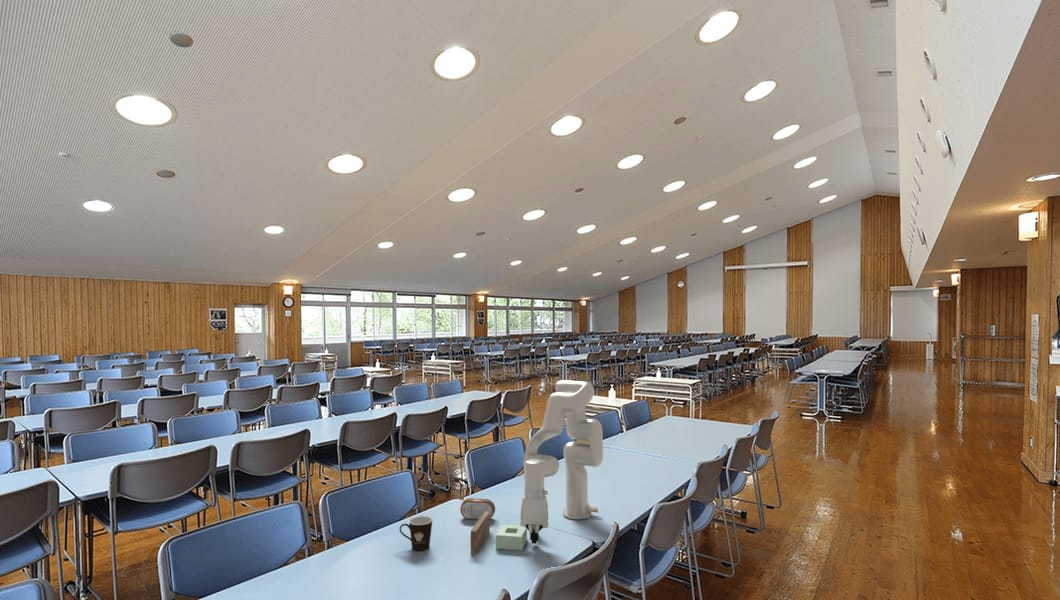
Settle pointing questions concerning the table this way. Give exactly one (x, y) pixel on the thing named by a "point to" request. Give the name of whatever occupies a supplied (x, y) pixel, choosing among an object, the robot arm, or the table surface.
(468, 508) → the tin
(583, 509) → the robot arm
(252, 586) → the table surface
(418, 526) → the coffee mug
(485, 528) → the wall
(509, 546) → the block
